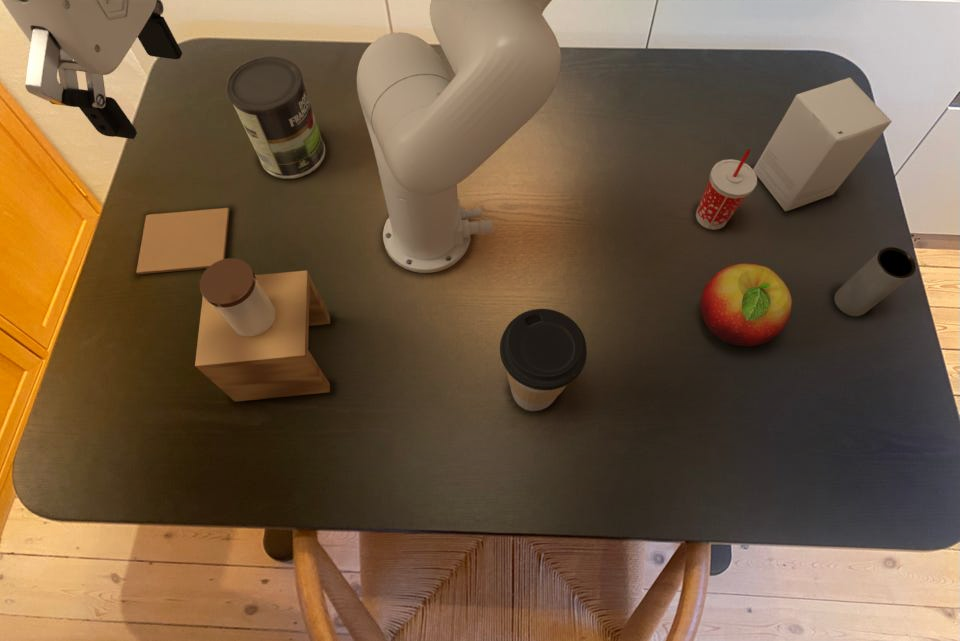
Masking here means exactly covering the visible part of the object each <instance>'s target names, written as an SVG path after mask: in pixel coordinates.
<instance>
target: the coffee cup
mask: <svg viewBox="0 0 960 641" xmlns="http://www.w3.org/2000/svg"><path fill="white" fill-rule="evenodd" d="M499 355H500V356H499V357H500V359H501V362H502V365H503V367H504V368H505V370H506V377H507V382H508V384H509V386H510V393H511V396H512V398H513V400H514V401H515V403H516V404H517V405H518V406H519V407H521V408H522V409H524V410H525V411H529V412H538V411H542V410H545V409H547V408H548V407H549V406H551V405H552V404H553V403H554V402H555V400H556V399H557V398H558V396H560V394H562V392H563V391H564V390H565V388H566V387H567V386H568V385H569V384H571V383H572V382H574V380H576V379H577V378H578V377H579V376H580V374H581V373H582V372H583V369H584V368H585V365H586V362H587V356H588V348H587V342H586V338H585V335H584V333H583V331H582V329H581V328H580V326H579V325H578V324H577V323H576V321H574V319H572V318H571V317H570V316H568V315H566V314H564V313H562V312H560V311H557V310H554V309H549V308H533V309H530V310H527V311H524V312H522V313H520V314H518V315H517V316H515V317H514V318H513V319H512V320H511V321H510V322H509V323H508V324H507V326H506V327H505V329H504V330H503V333H502V335H501V338H500V342H499Z"/></svg>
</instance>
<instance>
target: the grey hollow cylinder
mask: <svg viewBox="0 0 960 641" xmlns="http://www.w3.org/2000/svg"><path fill="white" fill-rule="evenodd" d="M916 269H917V265H916V261H915V260H914V258H913V257H912V255H911V254H909V252H907V251H906V250H904V249H902V248H899V247H897V246H896V247H894V246H887V247H883V248H882V249H880V250H879V251H878V252H877V253H875V255H874V256H872V258H870V260H868V261H867V262H866V263H865V264H864V265H863V266H861V267H860V269H859V270H858V271H857V272H855V273H854V274H853V275H852V276H851V277H850V278H849V279H847V281H846V282H844V284H842V285H841V286H840V287H839V288H838V289H837V291H835V293H834V296H833V299H834V304H835V306H836V307H837V309H838V310H840V311H841V312H842V313H843V314H845V315H848V316H850V317H861V316H863V315H865V314H866V313H867V312H869V311H870V310H871V309H873V308H874V307H875V306H876V305H877V304H879V303H880V302H881V301H882V300H884V299H886V297H888V296H889V295H890V294H892V293H893V292H894V291H895V290H896V289H898V288H899V287H900V286H901V285H903V283H905V282H906V281H907V280H909V279H910V278H911V277H912V276H913V275H914V274H915V273H916Z"/></svg>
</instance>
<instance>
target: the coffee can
mask: <svg viewBox="0 0 960 641" xmlns="http://www.w3.org/2000/svg"><path fill="white" fill-rule="evenodd" d="M225 92H226V95H227V97H228V99H229V101H230V102H231V104H232V105H233V107H234V109H235V111H236V114H237V116H238V118H239V120H240V122H241V125H242V126H243V128H244V130H245V132H246V135H247V136H248V139H249V141H250V143H251V145H252V146H253V149H254V151H255V153H256V155H257V157H258V160H259V162H260V165H261V167H262V168H263V170H264V171H266V172H267V173H268V174H269V175H271V176H273V177H276V178H278V179H284V180H286V179H287V180H291V179H298V178H302V177H304V176H307V175H309V174H311V173H313V171H315V170H316V169H318V168H319V166H320V165H321V164H322V163H323V161H324V158H325V156H326V146H325V143H324V140H323V138H322V135H321V132H320V128H319V125H318V122H317V120H316V116H315V114H314V112H313V107H312V104H311V101H310V98H309V95H308V92H307V89H306V86H305V83H304V79H303V74H302V72H301V70H300V68H299V66H298V65H297V64H295V63H294V62H293V61H291V60H289V59H287V58H284V57H280V56H261V57H260V56H259V57H257V58H253V59H250V60H247V61H245V62H244V63H242V64H240V65H239V66H238V67H236V68H235V69H234V70H233V71H232V72H231V73H230V75H229V76H228V78H227V80H226V84H225Z"/></svg>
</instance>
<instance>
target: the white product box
mask: <svg viewBox="0 0 960 641" xmlns="http://www.w3.org/2000/svg"><path fill="white" fill-rule="evenodd" d="M892 122H893V120H892V119H890V117H889V116H888V115H887V114H885V112H884V111H883V110H882V109H881V108H880V107H879V106H878V105H877V104H876V103H875V102H874V101H873V100H872V99H871V97H869V96H868V94H866V93H865V92H864V90H863V89H862V88H861V87H860V86H859V85H858V84H857V83H856V82H855V81H854V80H853V79H852V78H851V77H847V78H844V79H840V80H837V81H835V82H832V83H829V84H826V85H822V86H819V87H815V88H812V89H809V90H807V91H804V92H800V93H798V94H797V93H796V95H795V96H794V98H793V100H792V102H791V104H790V105H789V107H788V109H787V111H786V112H785V114H784V115H783V117H782V120H781V121H780V123H779V124H778V126H777V128H776V129H775V131H774V133H773V134H772V137H771V138H770V140H769V141H768V143H767V144H766V147H764V150H763V152H761V155H760V156H759V159H758V161H757V162H756V163H755V165H754V167H752V169H753V170H754V172H755V174H756V176H757V178H758V179H759V180H760V181H761V184H763V185H764V186H765V188H766V189H767V190H768V192H769V193H770V194H771V196H772V197H773V198H774V200H776V202H777V203H778V204H779V206H780V207H781V208H782V209H783V211H784V212H789V211H792V210H795V209H797V208H800V207H803V206H806V205H808V204H811V203H814V202H817V201H819V200H822V199H824V198H828V197H830V196H832V195H834V194H835V193H836V191H837V190H838V189H839V188H840V186H841V185H842V184H843V182H845V180H846V179H847V178H848V176H850V174H851V173H852V172H853V171H854V169H855V168H856V167H857V165H858V164H859V163H860V161H861V160H862V159H863V158H864V156H865V155H866V154H867V153H868V152H869V150H870V149H871V148H872V146H873V145H874V144H875V143H876V142H877V140H878V139H879V138H880V137H881V135H882V134H883V133H885V131H886V130H887V128H888V127H889V125H891V123H892Z"/></svg>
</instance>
